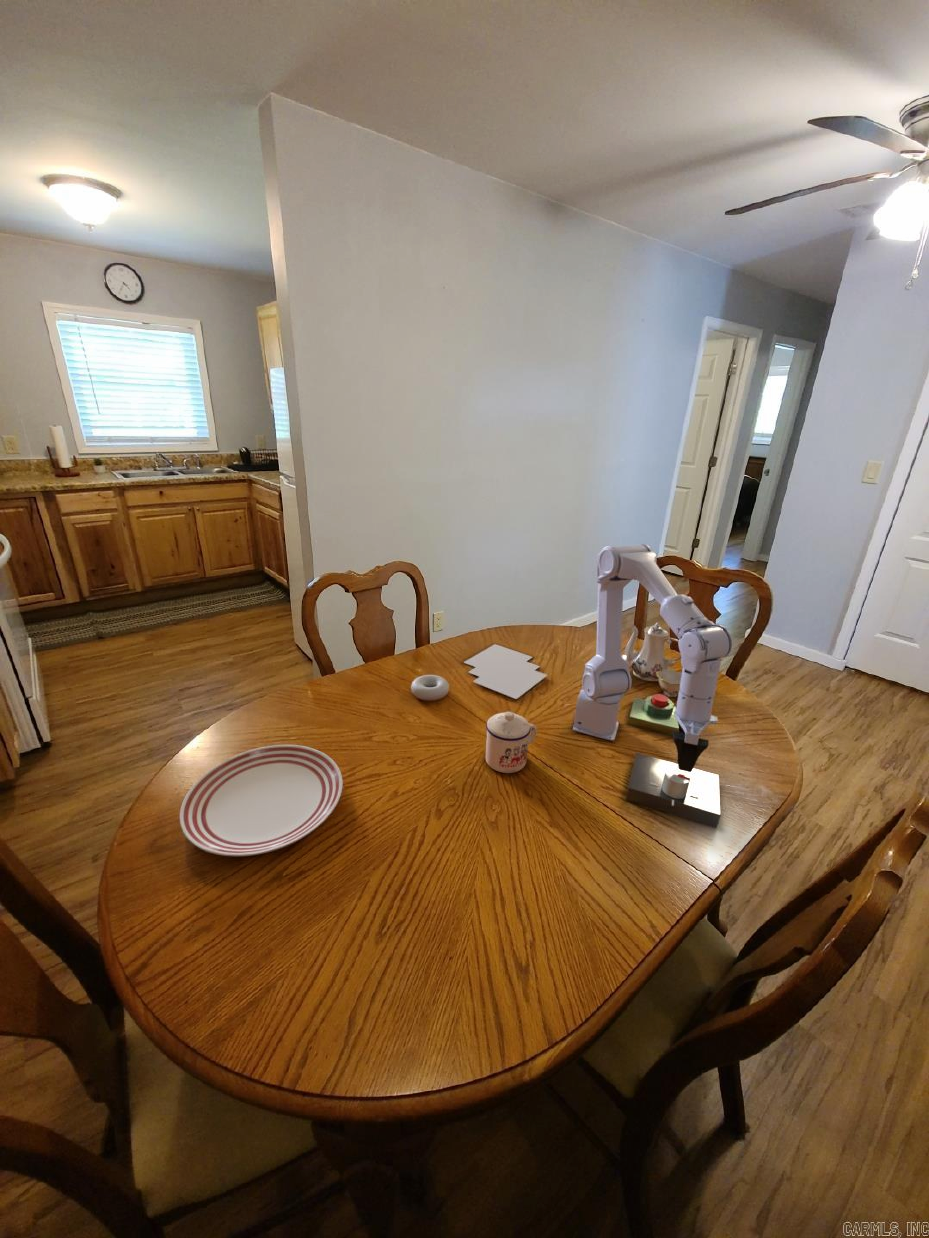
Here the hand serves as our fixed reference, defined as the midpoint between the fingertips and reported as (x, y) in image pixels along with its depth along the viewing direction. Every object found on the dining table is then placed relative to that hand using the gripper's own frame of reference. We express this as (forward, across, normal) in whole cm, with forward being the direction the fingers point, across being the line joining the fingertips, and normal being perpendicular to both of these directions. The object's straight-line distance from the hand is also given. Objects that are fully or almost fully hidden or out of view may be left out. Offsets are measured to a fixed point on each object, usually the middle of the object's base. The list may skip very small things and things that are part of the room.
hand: (685, 758), depth 92 cm
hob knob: (+7, 0, +1) cm, 7 cm away
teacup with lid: (+9, -1, +33) cm, 34 cm away
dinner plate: (+9, -34, +69) cm, 78 cm away
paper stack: (+6, +36, +48) cm, 60 cm away
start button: (+5, +31, +6) cm, 32 cm away
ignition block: (+8, +29, +6) cm, 31 cm away
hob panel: (+10, +3, +1) cm, 10 cm away
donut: (+7, +15, +61) cm, 63 cm away
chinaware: (+7, +50, +11) cm, 51 cm away
